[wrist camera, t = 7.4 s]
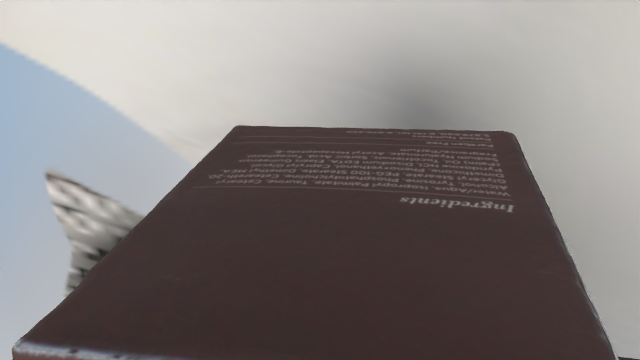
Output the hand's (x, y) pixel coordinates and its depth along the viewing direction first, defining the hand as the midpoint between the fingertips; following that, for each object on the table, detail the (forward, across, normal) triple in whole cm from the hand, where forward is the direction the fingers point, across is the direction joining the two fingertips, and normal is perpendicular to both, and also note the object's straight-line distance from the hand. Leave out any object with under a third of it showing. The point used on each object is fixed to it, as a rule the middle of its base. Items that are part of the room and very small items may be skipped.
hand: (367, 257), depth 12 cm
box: (+1, 0, 0) cm, 1 cm away
